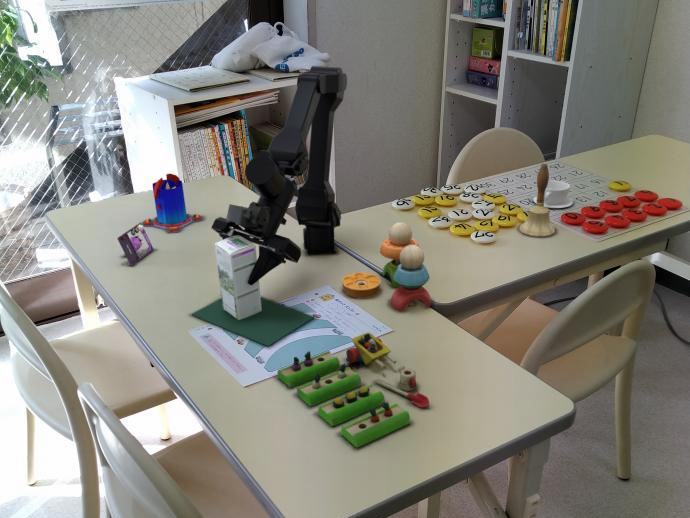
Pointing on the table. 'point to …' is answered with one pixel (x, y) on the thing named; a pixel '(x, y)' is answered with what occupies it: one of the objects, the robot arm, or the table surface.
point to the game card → (134, 244)
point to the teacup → (556, 194)
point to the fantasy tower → (170, 205)
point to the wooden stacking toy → (395, 271)
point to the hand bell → (539, 210)
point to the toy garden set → (354, 401)
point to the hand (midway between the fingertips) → (236, 279)
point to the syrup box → (237, 277)
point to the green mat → (257, 321)
